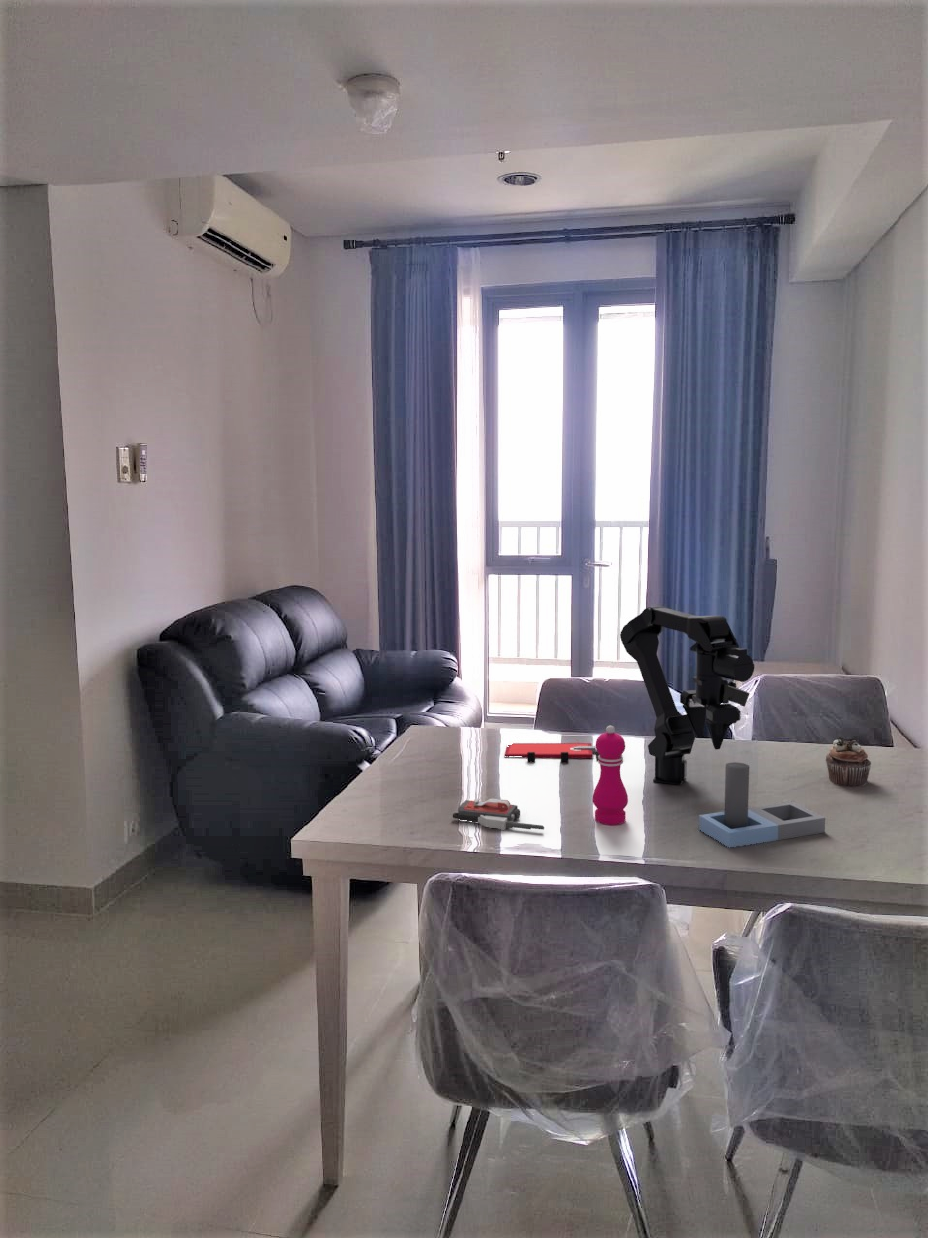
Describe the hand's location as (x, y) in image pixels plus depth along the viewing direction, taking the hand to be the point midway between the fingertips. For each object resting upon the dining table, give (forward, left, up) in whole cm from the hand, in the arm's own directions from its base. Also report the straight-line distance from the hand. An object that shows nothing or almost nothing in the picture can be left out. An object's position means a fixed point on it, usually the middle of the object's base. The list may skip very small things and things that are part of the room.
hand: (708, 743), depth 191 cm
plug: (+9, -21, -12) cm, 26 cm away
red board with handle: (-40, +19, -13) cm, 46 cm away
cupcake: (+28, +22, -12) cm, 38 cm away
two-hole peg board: (+13, -17, -12) cm, 25 cm away
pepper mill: (-16, -22, -12) cm, 30 cm away
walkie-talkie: (-37, -31, -13) cm, 50 cm away
